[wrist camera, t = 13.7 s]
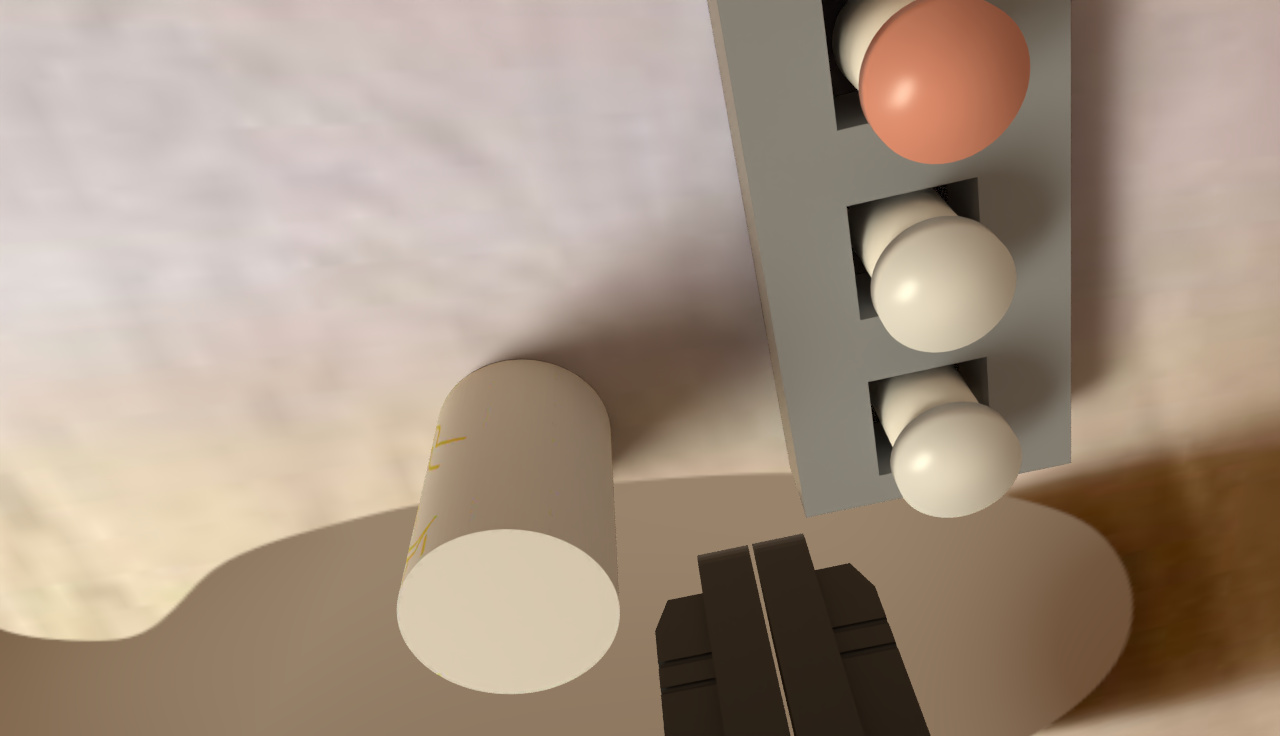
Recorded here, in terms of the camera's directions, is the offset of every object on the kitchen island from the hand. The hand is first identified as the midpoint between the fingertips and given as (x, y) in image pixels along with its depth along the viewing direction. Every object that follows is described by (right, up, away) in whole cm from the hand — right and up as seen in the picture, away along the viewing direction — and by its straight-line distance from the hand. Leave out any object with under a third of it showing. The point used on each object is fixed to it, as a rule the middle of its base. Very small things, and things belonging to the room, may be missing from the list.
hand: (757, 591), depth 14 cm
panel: (+9, +10, +29) cm, 31 cm away
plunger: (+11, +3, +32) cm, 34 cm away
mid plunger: (+9, +9, +28) cm, 31 cm away
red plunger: (+7, +15, +23) cm, 28 cm away
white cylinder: (-7, 0, +33) cm, 34 cm away
